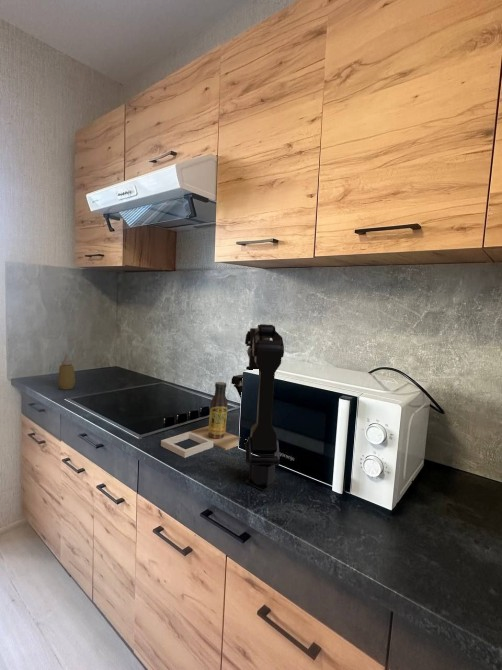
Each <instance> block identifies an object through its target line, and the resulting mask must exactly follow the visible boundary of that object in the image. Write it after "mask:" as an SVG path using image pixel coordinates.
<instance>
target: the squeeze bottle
mask: <svg viewBox="0 0 502 670" xmlns="http://www.w3.org/2000/svg"><path fill="white" fill-rule="evenodd" d="M57 377H58V378H57V384H58V386H59V389H60V390H72V389H73V388H74V385H75V383H76V378H75V377H76V375H75V368H74V364H73V362H72V360H70V357H69V353H65V355H64V359H63V360H61V365H60V366H59V369H58V376H57Z"/></svg>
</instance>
